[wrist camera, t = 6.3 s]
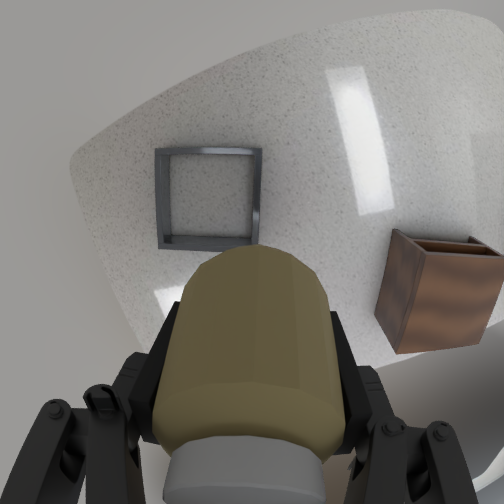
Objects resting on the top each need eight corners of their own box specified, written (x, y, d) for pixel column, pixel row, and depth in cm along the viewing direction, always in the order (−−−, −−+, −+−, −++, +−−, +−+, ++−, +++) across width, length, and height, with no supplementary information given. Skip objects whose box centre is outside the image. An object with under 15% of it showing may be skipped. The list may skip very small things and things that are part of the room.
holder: (163, 147, 35) (154, 148, 32) (262, 148, 35) (262, 148, 32) (166, 240, 40) (158, 249, 36) (258, 244, 39) (257, 253, 36)
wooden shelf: (392, 228, 38) (426, 254, 29) (472, 236, 38) (510, 259, 28) (374, 314, 43) (395, 354, 34) (450, 311, 43) (478, 344, 33)
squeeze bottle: (193, 221, 18) (-13, 538, 1) (326, 230, 18) (493, 563, 1) (196, 331, 21) (123, 586, 4) (308, 338, 21) (347, 599, 4)
